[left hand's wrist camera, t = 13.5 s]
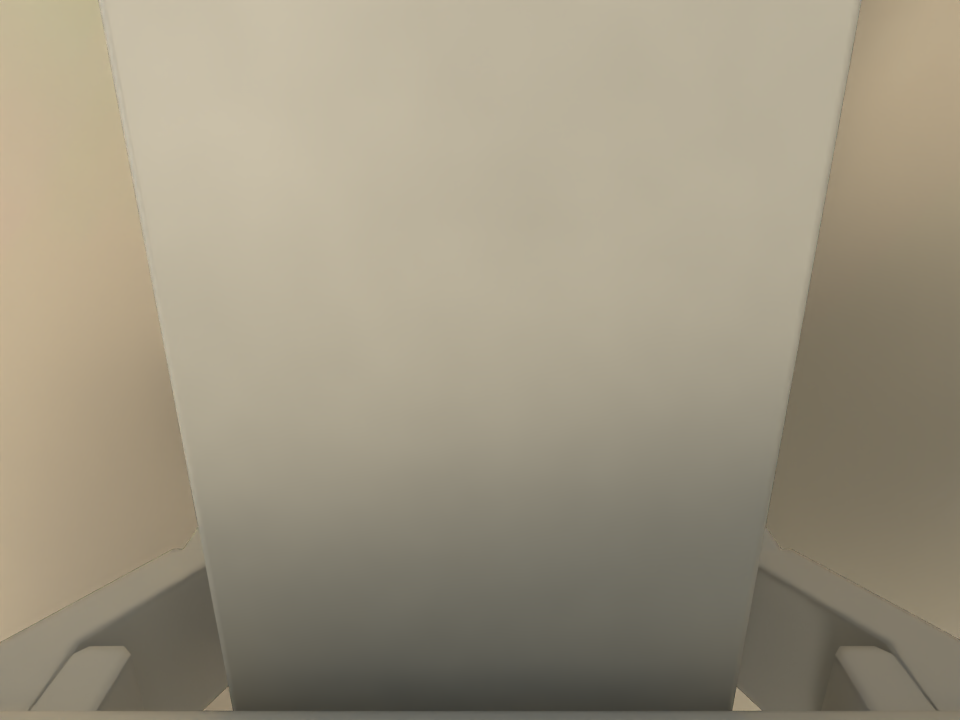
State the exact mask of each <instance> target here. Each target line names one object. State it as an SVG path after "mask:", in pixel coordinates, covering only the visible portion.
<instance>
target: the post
mask: <svg viewBox="0 0 960 720" xmlns="http://www.w3.org/2000/svg"><path fill="white" fill-rule="evenodd" d="M98 1H99V6H100V11H101V17H102V22H103V27H104V33H105V38H106V43H107V48H108V54H109V59H110V64H111V69H112V75H113V80H114V85H115V91H116V96H117V101H118V106H119V112H120V117H121V122H122V127H123V133H124V138H125V143H126V149H127V154H128V159H129V164H130V170H131V175H132V180H133V186H134V191H135V196H136V201H137V207H138V212H139V217H140V222H141V228H142V233H143V238H144V244H145V249H146V254H147V259H148V265H149V270H150V275H151V280H152V286H153V291H154V296H155V302H156V307H157V312H158V317H159V323H160V328H161V333H162V338H163V344H164V349H165V354H166V360H167V365H168V370H169V375H170V381H171V386H172V391H173V396H174V402H175V407H176V412H177V418H178V423H179V428H180V433H181V439H182V444H183V449H184V454H185V460H186V465H187V470H188V476H189V481H190V486H191V491H192V497H193V502H194V507H195V513H196V518H197V523H198V528H199V534H200V539H201V544H202V549H203V555H204V560H205V565H206V571H207V576H208V581H209V586H210V592H211V597H212V602H213V607H214V613H215V618H216V623H217V629H218V634H219V639H220V644H221V650H222V655H223V660H224V665H225V671H226V676H227V681H228V687H229V692H230V697H231V702H232V708H233V711H732V708H733V703H734V697H735V692H736V686H737V681H738V675H739V670H740V664H741V659H742V653H743V648H744V642H745V637H746V631H747V626H748V620H749V615H750V610H751V604H752V599H753V593H754V588H755V582H756V577H757V571H758V566H759V560H760V555H761V549H762V544H763V538H764V533H765V527H766V522H767V516H768V511H769V505H770V500H771V494H772V489H773V483H774V478H775V472H776V467H777V461H778V456H779V450H780V445H781V440H782V434H783V429H784V423H785V418H786V412H787V407H788V401H789V396H790V390H791V385H792V379H793V374H794V368H795V363H796V357H797V352H798V346H799V341H800V335H801V330H802V324H803V319H804V313H805V308H806V302H807V297H808V291H809V286H810V280H811V275H812V269H813V264H814V259H815V253H816V248H817V242H818V237H819V231H820V226H821V220H822V215H823V209H824V204H825V198H826V193H827V187H828V182H829V176H830V171H831V165H832V160H833V154H834V149H835V143H836V138H837V132H838V127H839V121H840V116H841V110H842V105H843V99H844V94H845V89H846V83H847V78H848V72H849V67H850V61H851V56H852V50H853V45H854V39H855V34H856V28H857V23H858V17H859V12H860V6H861V1H862V0H98Z"/></svg>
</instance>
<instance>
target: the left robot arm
mask: <svg viewBox="0 0 960 720" xmlns="http://www.w3.org/2000/svg"><path fill="white" fill-rule="evenodd" d="M227 687H228V681H227V676H226V671H225V665H224V660H223V655H222V650H221V644H220V639H219V634H218V629H217V623H216V618H215V613H214V607H213V602H212V597H211V592H210V586H209V581H208V576H207V571H206V565H205V560H204V555H203V549H202V544H201V539H200V534H199V528H197V529H196V531H195V532H194V534H193V535H192V537H191V538H190V539H189V541H188V542H187V544H186V545H185V547H184V548H183V549H172V550H170V551H168V552H166V553H165V554H163V555H161V556H159V557H157V558H155V559H153V560H152V561H150V562H148V563H146V564H144V565H142V566H140V567H139V568H137V569H135V570H133V571H131V572H129V573H128V574H126V575H124V576H122V577H120V578H118V579H116V580H115V581H113V582H111V583H109V584H107V585H105V586H103V587H102V588H100V589H98V590H96V591H94V592H92V593H91V594H89V595H87V596H85V597H83V598H81V599H79V600H78V601H76V602H74V603H72V604H70V605H68V606H67V607H65V608H63V609H61V610H59V611H57V612H55V613H54V614H52V615H50V616H48V617H46V618H44V619H42V620H41V621H39V622H37V623H35V624H33V625H31V626H30V627H28V628H26V629H24V630H22V631H20V632H18V633H17V634H15V635H13V636H11V637H9V638H7V639H5V640H4V641H2V642H0V720H960V640H959V639H958V638H956V637H954V636H952V635H950V634H948V633H946V632H945V631H943V630H941V629H939V628H937V627H935V626H933V625H932V624H930V623H928V622H926V621H924V620H922V619H920V618H919V617H917V616H915V615H913V614H911V613H909V612H907V611H906V610H904V609H902V608H900V607H898V606H896V605H894V604H893V603H891V602H889V601H887V600H885V599H883V598H881V597H880V596H878V595H876V594H874V593H872V592H870V591H869V590H867V589H865V588H863V587H861V586H859V585H857V584H856V583H854V582H852V581H850V580H848V579H846V578H844V577H843V576H841V575H839V574H837V573H835V572H833V571H831V570H830V569H828V568H826V567H824V566H822V565H820V564H818V563H817V562H815V561H813V560H811V559H809V558H807V557H805V556H804V555H802V554H800V553H798V552H796V551H794V550H792V549H781V548H780V547H779V545H778V544H777V542H776V541H775V539H774V538H773V536H772V535H771V533H770V532H769V531H768V529H767V528H766V527H765V533H764V538H763V544H762V549H761V555H760V560H759V566H758V571H757V577H756V582H755V588H754V593H753V599H752V604H751V610H750V615H749V620H748V626H747V631H746V637H745V642H744V648H743V653H742V659H741V664H740V670H739V675H738V681H737V687H738V688H739V689H740V690H741V691H742V692H743V693H744V694H745V695H746V696H747V697H748V698H749V699H750V700H751V701H752V702H754V703H755V704H756V705H757V706H758V707H759V708H760V709H761V710H762V711H203V710H204V709H205V708H206V707H207V706H208V705H209V704H210V703H211V702H212V701H213V700H214V699H215V698H216V697H217V696H218V695H219V694H221V693H222V692H223V691H224V690H225V689H226V688H227Z"/></svg>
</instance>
